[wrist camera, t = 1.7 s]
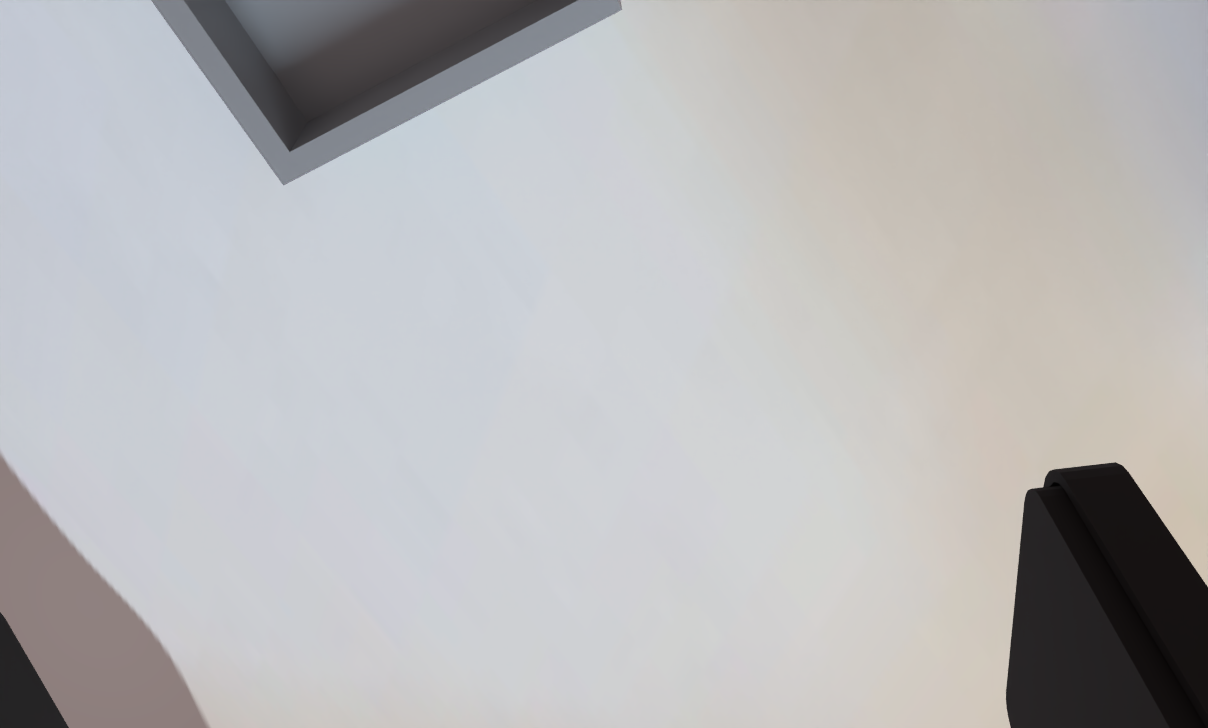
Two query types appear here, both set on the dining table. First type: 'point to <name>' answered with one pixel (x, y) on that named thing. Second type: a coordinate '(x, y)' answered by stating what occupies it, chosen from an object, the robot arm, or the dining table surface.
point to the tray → (357, 61)
